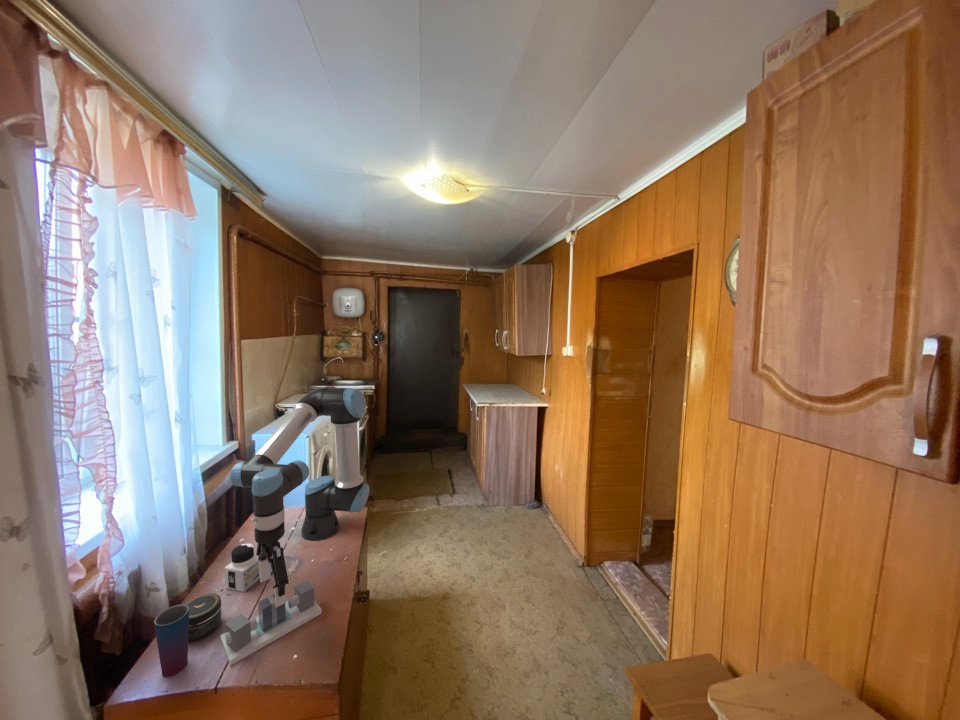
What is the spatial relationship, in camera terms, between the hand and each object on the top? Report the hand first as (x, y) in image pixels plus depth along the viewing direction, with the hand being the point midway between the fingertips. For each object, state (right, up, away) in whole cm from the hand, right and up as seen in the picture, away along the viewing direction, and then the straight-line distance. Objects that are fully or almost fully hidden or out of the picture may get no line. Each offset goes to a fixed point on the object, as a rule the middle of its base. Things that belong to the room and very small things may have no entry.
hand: (272, 591), depth 105 cm
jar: (-21, -11, -1) cm, 23 cm away
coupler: (0, -9, 0) cm, 9 cm away
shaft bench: (0, -11, +1) cm, 11 cm away
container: (-21, -9, +18) cm, 29 cm away
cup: (-18, -12, -13) cm, 25 cm away
